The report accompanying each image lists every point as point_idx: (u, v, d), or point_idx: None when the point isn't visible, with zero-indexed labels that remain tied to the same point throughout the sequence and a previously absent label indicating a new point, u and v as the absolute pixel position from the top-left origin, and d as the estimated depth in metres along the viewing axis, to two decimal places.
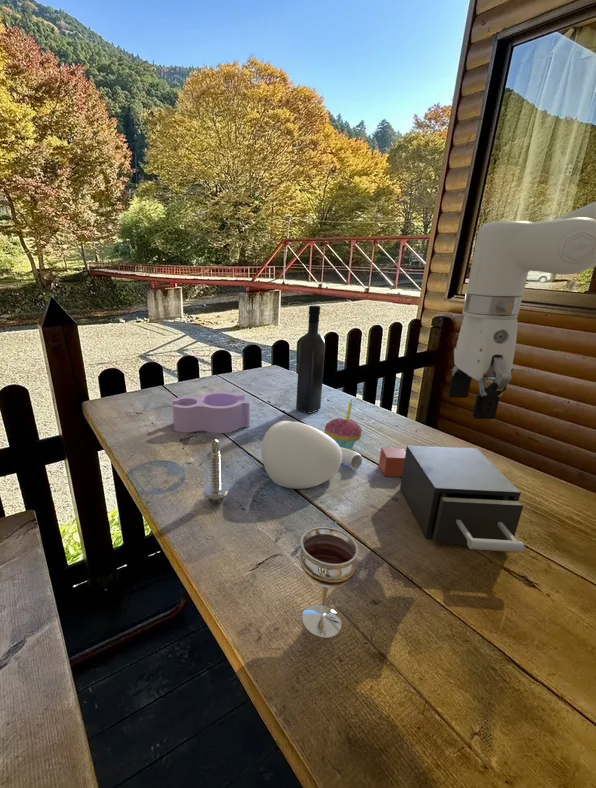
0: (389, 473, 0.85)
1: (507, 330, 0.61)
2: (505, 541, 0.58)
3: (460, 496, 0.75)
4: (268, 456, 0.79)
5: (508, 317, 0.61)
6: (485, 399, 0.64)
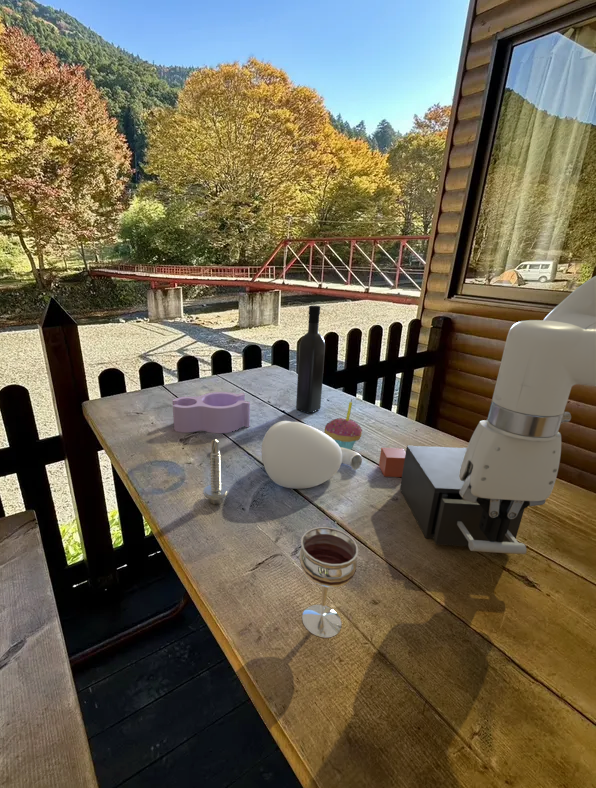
0: (389, 473, 0.85)
1: None
2: (507, 543, 0.57)
3: (461, 497, 0.75)
4: (268, 456, 0.79)
5: None
6: (509, 519, 0.57)
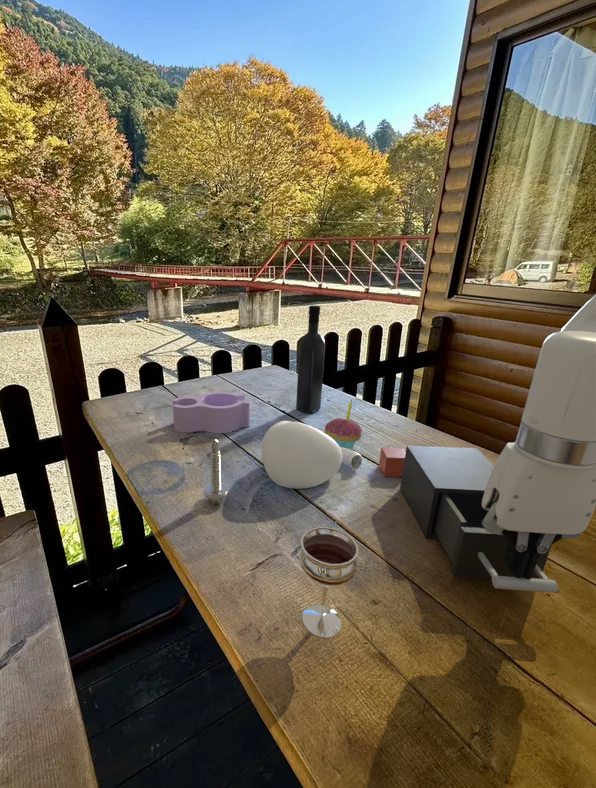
0: (389, 473, 0.85)
1: None
2: (535, 580, 0.51)
3: (478, 521, 0.68)
4: (268, 456, 0.79)
5: None
6: (538, 553, 0.51)
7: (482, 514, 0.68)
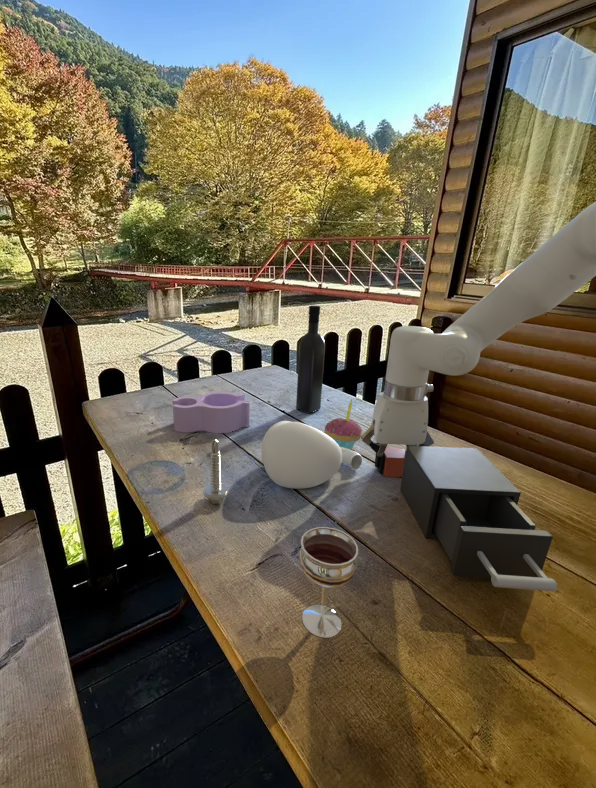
0: (389, 473, 0.85)
1: None
2: (534, 579, 0.51)
3: (478, 520, 0.68)
4: (268, 456, 0.79)
5: None
6: None
7: (481, 513, 0.69)
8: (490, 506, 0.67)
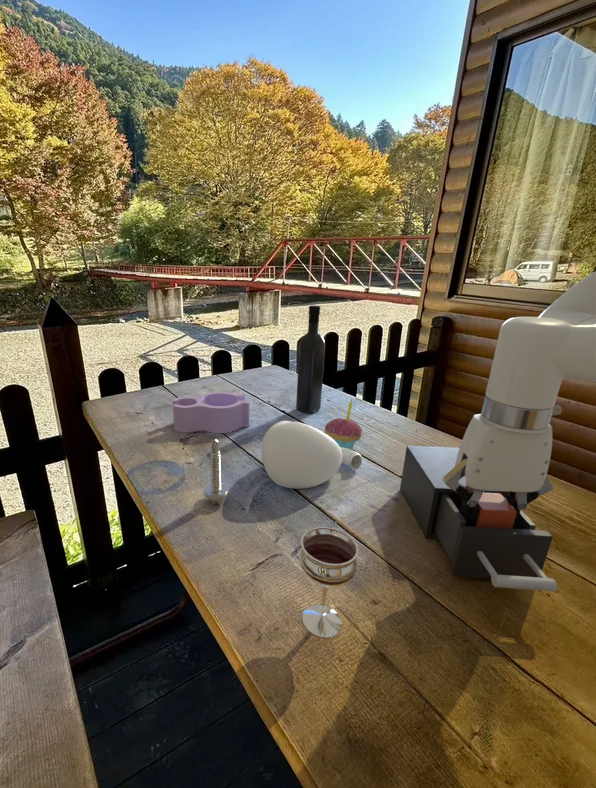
0: None
1: None
2: (534, 579, 0.51)
3: None
4: (268, 456, 0.79)
5: None
6: (519, 510, 0.58)
7: None
8: None
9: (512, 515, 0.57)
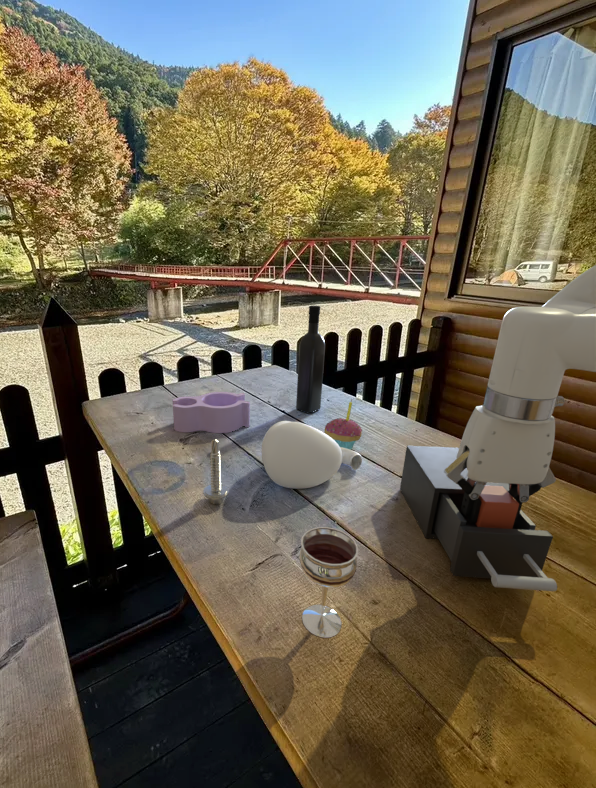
0: (487, 524, 0.58)
1: None
2: (534, 579, 0.51)
3: None
4: (268, 456, 0.79)
5: None
6: (521, 502, 0.58)
7: None
8: None
9: (514, 508, 0.57)
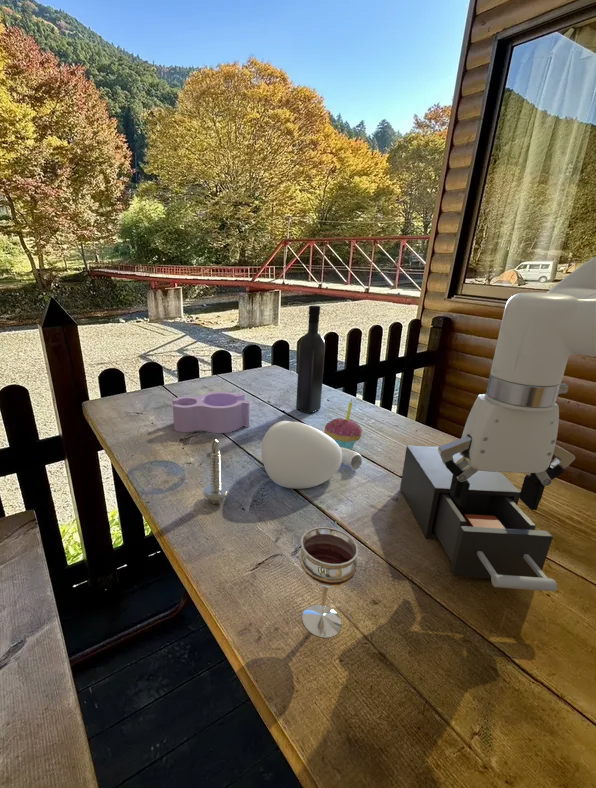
0: None
1: None
2: (534, 579, 0.51)
3: None
4: (268, 456, 0.79)
5: None
6: (543, 486, 0.57)
7: (481, 513, 0.69)
8: (490, 506, 0.67)
9: None
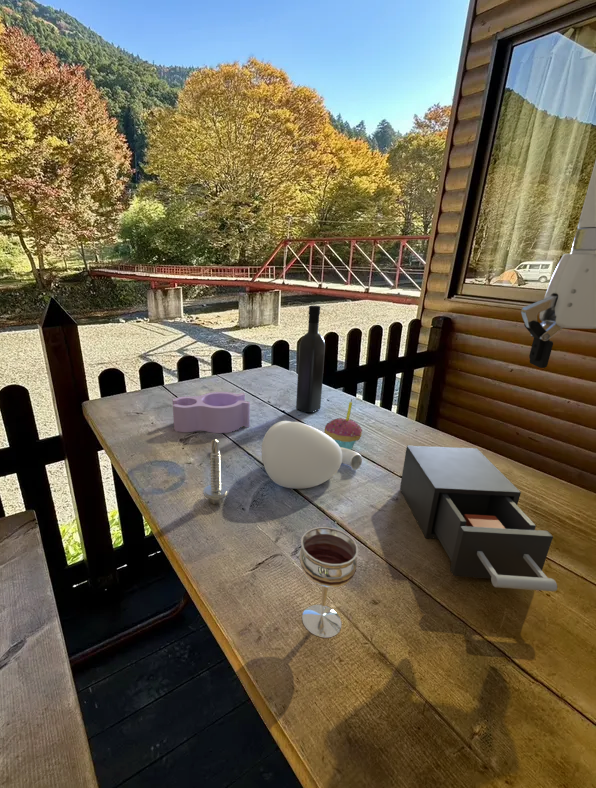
0: None
1: None
2: (534, 579, 0.51)
3: None
4: (268, 456, 0.79)
5: None
6: None
7: (481, 513, 0.69)
8: (490, 506, 0.67)
9: None
